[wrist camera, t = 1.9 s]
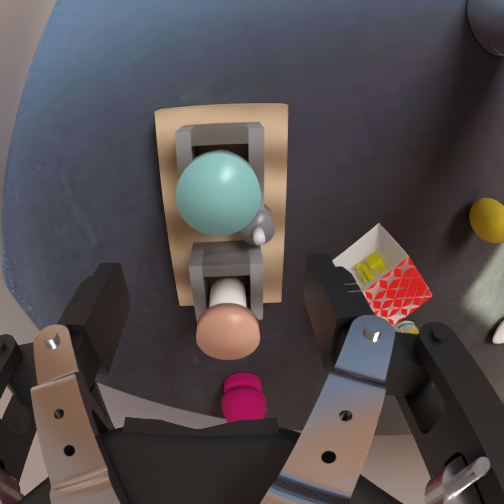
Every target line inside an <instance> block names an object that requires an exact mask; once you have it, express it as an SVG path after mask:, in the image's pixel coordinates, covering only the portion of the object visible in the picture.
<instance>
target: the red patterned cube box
mask: <svg viewBox="0 0 504 504" xmlns="http://www.w3.org/2000/svg"><path fill="white" fill-rule="evenodd" d="M333 263H334V265H335V267H338V266H343V267H344V268H345V269H346V270H348V271H349V272H350V273H352V275H353V277H354V278H355V280H356V282H357V284H358V285H359V287H360V289H361V291H362V292H363V294H364V296H365V298H366V300H367V302H368V303H369V305H370V307H371V309H372V311H373V313H374V314H375V316H378V317H381V318H383V319H385V320H387V321H388V322H389V323H390V324H391V325H392V326H394V325H396V324H397V323H398V322H400V321H401V320H402V319H404V318H405V317H406V316H408V315H409V314H410V313H412V312H413V311H414V310H415V309H417V308H418V307H419V306H421V305H422V304H423V303H424V302H426V301H427V300H428V299H429V298H431V297H432V294H431V292H430V291H429V289H428V287H427V286H426V284H425V282H424V280H423V279H422V277H421V275H420V274H419V272H418V270H417V269H416V267H415V265H414V264H413V262H412V260H411V259H410V257H409V256H408V254H407V253H406V252H405V251H404V250H403V249H402V248H401V246H400V245H399V244H398V243H397V242H396V241H395V240H394V239H393V238H392V236H391V235H390V234H389V233H388V232H387V231H386V230H385V229H384V228H383V227H382V226H381V225H380V223H378V224H377V225H376V226H375V227H373V228H372V229H371V230H370V231H369V232H367V233H366V234H365V235H364V236H363V237H361V238H360V239H359V240H358V241H356V242H355V243H354V244H353V245H352V246H350V247H349V248H348V249H347V250H345V251H344V252H343V253H342V254H340V255H339V256H338V257H337V258H335V259H334V260H333Z"/></svg>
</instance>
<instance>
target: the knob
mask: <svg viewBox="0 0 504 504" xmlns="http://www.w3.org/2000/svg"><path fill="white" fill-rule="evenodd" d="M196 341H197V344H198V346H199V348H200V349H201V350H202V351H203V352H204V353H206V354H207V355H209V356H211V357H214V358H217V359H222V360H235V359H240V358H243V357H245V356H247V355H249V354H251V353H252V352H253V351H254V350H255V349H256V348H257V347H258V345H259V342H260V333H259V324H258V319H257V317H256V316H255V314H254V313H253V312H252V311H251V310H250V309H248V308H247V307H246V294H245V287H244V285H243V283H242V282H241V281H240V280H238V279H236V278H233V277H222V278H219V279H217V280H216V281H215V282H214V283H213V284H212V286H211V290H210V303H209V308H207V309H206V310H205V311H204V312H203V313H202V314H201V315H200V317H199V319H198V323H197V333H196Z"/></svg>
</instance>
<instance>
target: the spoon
mask: <svg viewBox="0 0 504 504" xmlns="http://www.w3.org/2000/svg"><path fill="white" fill-rule="evenodd" d="M493 343H495V344H501V343H504V320H503V321H502V322H501V324H500V325H499V326H498V328H497V329H496V331H495V333H494V336H493Z"/></svg>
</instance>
